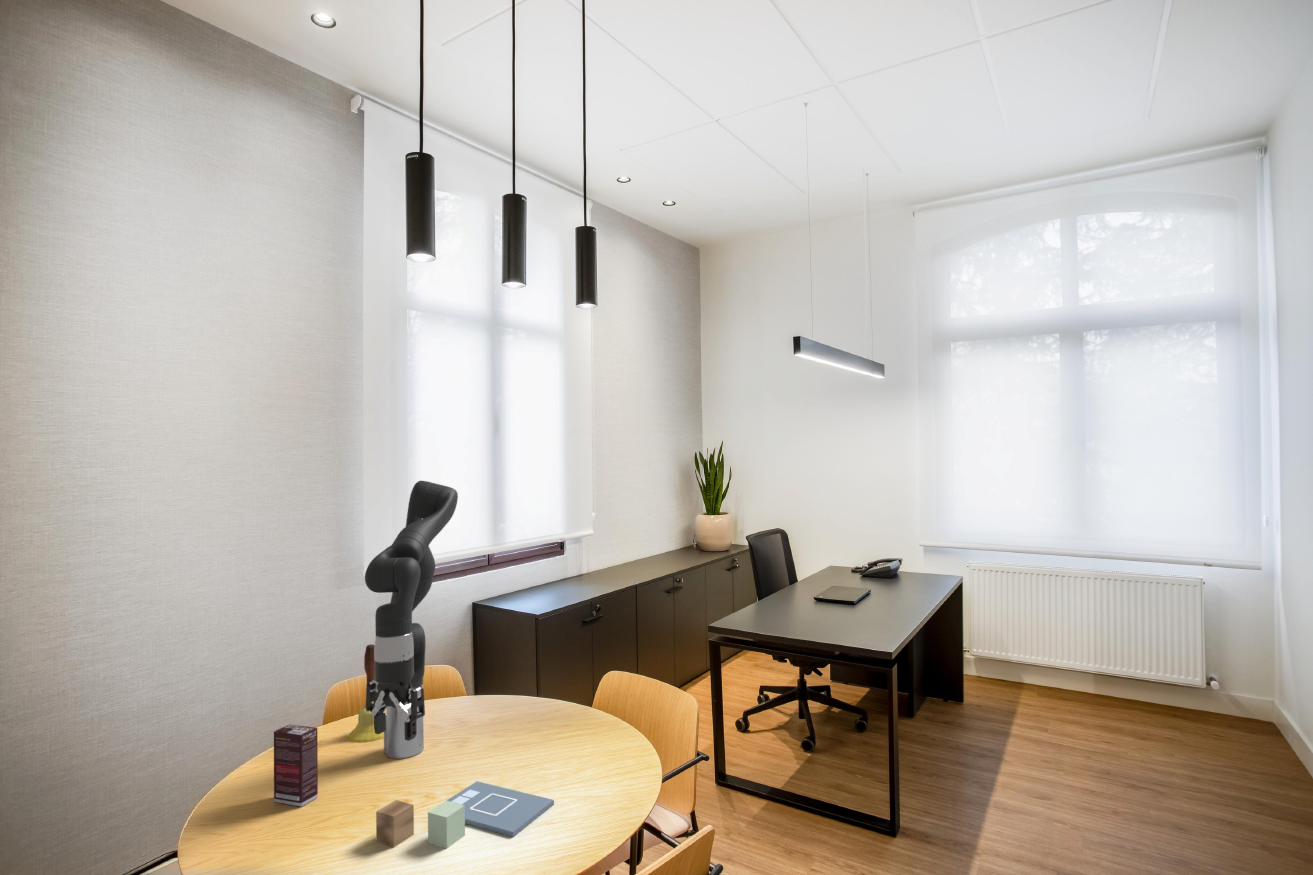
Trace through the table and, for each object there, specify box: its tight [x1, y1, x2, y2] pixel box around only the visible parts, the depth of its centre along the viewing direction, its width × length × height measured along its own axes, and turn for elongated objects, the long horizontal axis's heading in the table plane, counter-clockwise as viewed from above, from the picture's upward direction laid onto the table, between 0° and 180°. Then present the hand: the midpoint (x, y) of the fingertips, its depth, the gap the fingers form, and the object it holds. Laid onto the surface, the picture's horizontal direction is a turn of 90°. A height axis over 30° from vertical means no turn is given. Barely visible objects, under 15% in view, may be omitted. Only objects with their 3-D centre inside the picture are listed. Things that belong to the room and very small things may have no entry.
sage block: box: [427, 800, 466, 849], centre depth 133 cm, size 5×5×6 cm
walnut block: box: [375, 799, 415, 848], centre depth 134 cm, size 5×5×6 cm
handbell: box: [347, 644, 384, 744], centre depth 189 cm, size 12×12×25 cm
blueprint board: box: [445, 780, 555, 838], centre depth 144 cm, size 22×14×1 cm, turn 63°
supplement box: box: [273, 724, 319, 808], centre depth 151 cm, size 9×5×16 cm, turn 71°
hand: (395, 735), depth 134 cm, fingers open, 8 cm apart
